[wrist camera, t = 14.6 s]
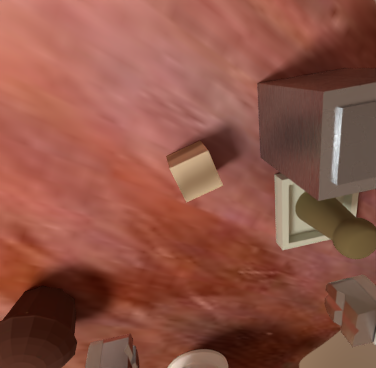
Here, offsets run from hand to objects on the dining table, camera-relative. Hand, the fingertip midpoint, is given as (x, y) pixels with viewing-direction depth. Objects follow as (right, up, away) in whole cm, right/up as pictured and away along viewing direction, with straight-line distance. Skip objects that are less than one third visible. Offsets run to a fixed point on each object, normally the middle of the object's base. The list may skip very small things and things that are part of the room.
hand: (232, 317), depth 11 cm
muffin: (-24, -14, +32) cm, 43 cm away
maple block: (-1, +8, +27) cm, 28 cm away
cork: (+18, +2, +32) cm, 36 cm away
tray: (+18, +3, +32) cm, 37 cm away
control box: (+14, +15, +26) cm, 33 cm away
